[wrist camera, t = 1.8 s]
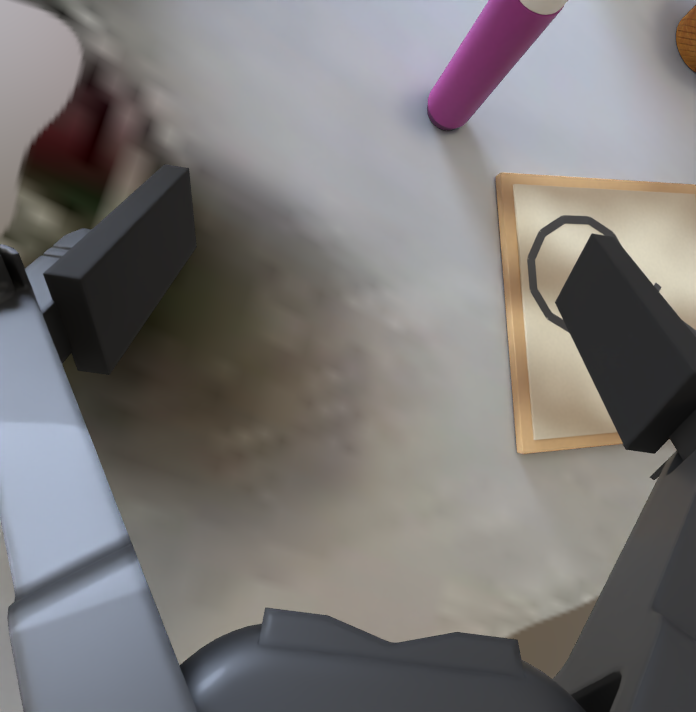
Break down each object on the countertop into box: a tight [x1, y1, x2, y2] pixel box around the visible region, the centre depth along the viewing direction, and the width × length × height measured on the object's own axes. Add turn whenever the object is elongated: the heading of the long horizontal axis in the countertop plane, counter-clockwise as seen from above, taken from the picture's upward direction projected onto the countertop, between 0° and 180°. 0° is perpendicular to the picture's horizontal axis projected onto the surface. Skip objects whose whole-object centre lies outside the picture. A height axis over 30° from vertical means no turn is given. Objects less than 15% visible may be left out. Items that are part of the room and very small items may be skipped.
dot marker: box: [427, 0, 568, 131], centre depth 29 cm, size 4×4×13 cm
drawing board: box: [495, 173, 696, 454], centre depth 37 cm, size 22×20×1 cm
